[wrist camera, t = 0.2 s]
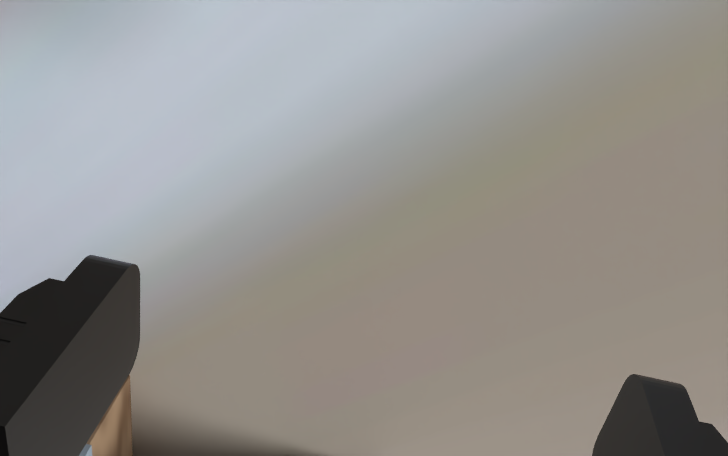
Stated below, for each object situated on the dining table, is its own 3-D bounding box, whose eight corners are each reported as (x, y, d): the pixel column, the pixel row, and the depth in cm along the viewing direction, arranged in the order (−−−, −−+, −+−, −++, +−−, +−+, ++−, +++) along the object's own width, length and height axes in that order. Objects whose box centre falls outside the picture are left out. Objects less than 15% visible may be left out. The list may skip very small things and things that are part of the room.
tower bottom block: (-9, 342, 39) (-68, 410, 34) (131, 373, 38) (88, 445, 34) (8, 437, 43) (-43, 508, 39) (134, 465, 43) (96, 539, 39)
